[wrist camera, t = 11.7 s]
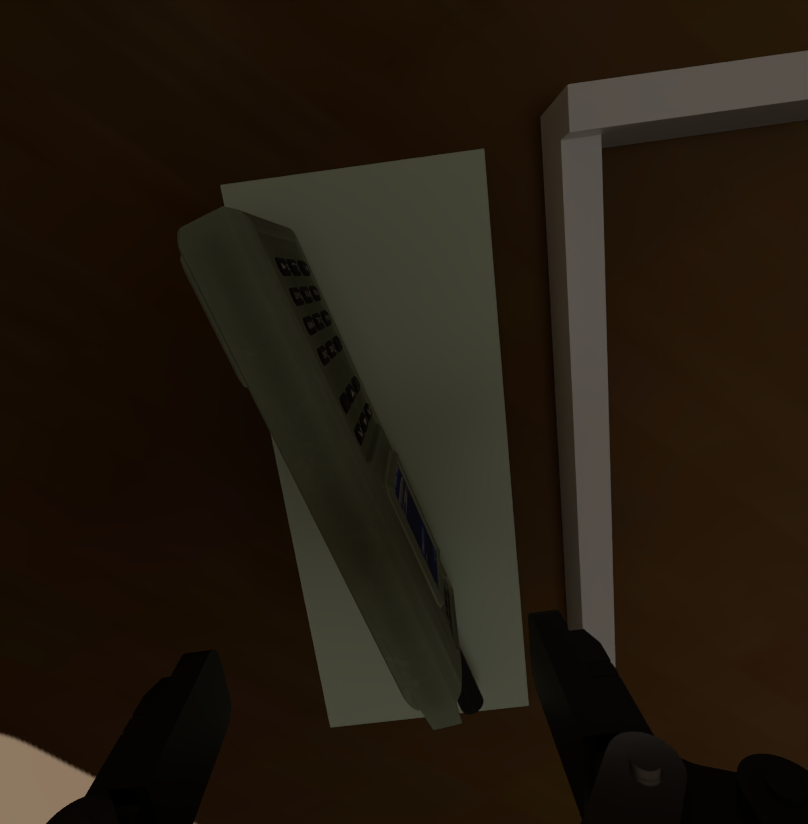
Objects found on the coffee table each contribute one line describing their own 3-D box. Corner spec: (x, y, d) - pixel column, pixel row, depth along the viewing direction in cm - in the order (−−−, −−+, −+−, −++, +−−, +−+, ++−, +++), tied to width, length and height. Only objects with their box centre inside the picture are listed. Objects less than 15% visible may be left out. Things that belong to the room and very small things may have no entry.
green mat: (331, 719, 28) (330, 727, 28) (224, 187, 21) (220, 185, 21) (526, 698, 28) (528, 705, 27) (482, 151, 21) (484, 148, 21)
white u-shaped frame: (570, 686, 28) (594, 741, 24) (540, 116, 21) (567, 84, 17) (863, 653, 27) (929, 705, 24) (934, 61, 20) (1041, 17, 17)
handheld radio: (300, 218, 21) (500, 676, 27) (232, 250, 22) (443, 693, 27) (248, 193, 15) (526, 801, 21) (152, 238, 15) (450, 822, 21)
